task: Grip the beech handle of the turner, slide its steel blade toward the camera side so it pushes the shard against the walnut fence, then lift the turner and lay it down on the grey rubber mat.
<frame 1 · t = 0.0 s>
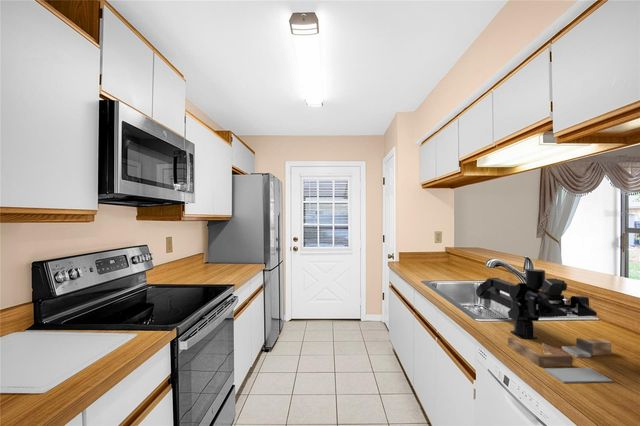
hand: (581, 314, 90), 17 cm above the counter, tool horizontal, fingers open, 9 cm apart
shard: (550, 355, 100), on the counter
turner: (586, 352, 100), on the counter
corner fence: (536, 354, 99), on the counter
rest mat: (576, 375, 86), on the counter
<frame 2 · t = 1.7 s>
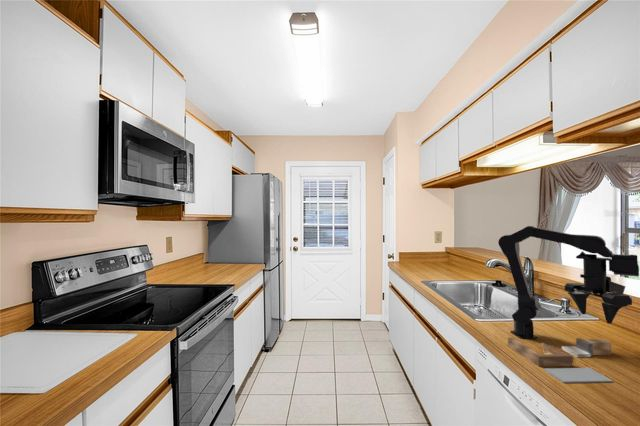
hand: (595, 318, 100), 11 cm above the counter, tool pointing down, fingers open, 9 cm apart
nothing on the counter moved.
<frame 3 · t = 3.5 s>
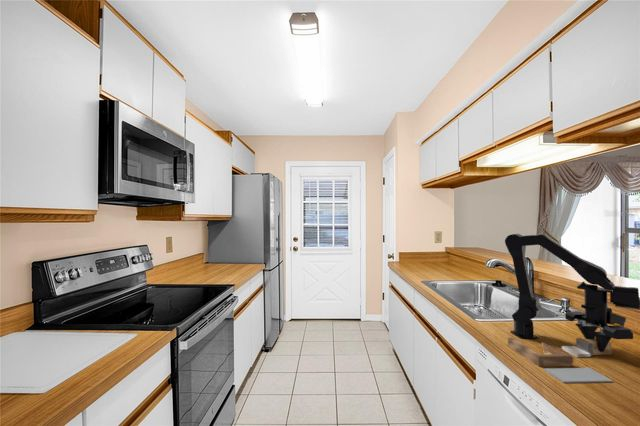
hand: (596, 349, 100), 1 cm above the counter, tool pointing down, fingers closed on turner, 3 cm apart
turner: (586, 352, 100), on the counter, touching gripper
everything else where it was.
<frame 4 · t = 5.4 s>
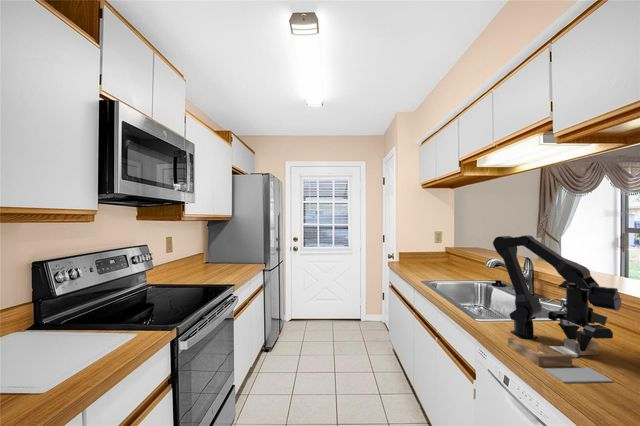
hand: (578, 348, 100), 1 cm above the counter, tool pointing down, fingers closed on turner, 3 cm apart
shard: (543, 355, 100), on the counter
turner: (574, 352, 100), on the counter, touching gripper
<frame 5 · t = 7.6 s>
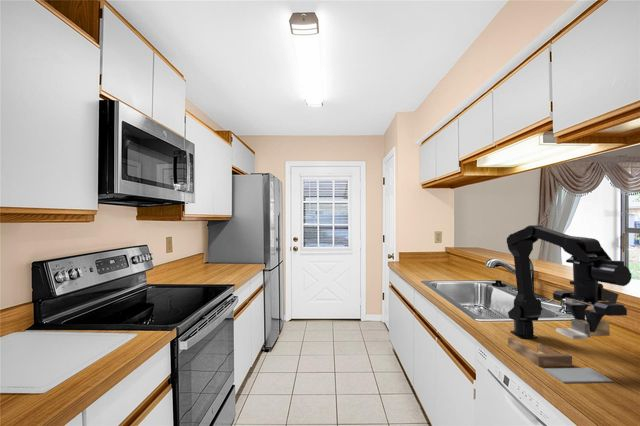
hand: (587, 330, 91), 11 cm above the counter, tool pointing down, fingers closed on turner, 3 cm apart
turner: (582, 334, 90), point 10 cm above the counter, touching gripper
everything else where it was.
when the fingers open (2 cm above the counter, at t = 9.6 s): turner stays where it is, resting on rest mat.
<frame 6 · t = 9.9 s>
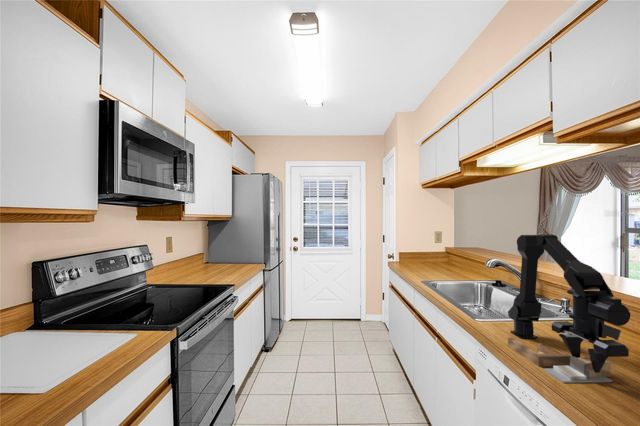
hand: (586, 366, 86), 2 cm above the counter, tool pointing down, fingers open, 6 cm apart
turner: (581, 374, 86), resting on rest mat
everything else where it was.
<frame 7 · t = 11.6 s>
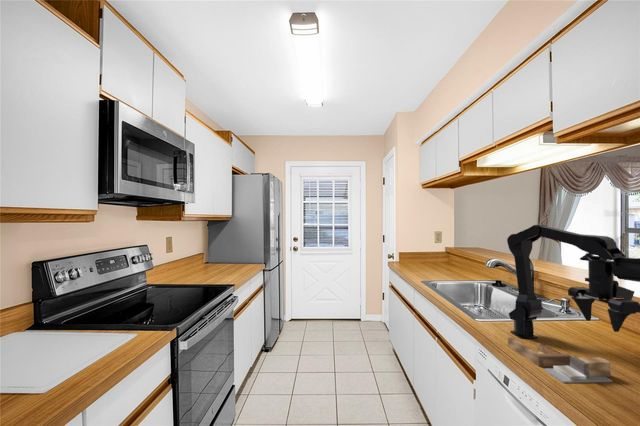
hand: (601, 325, 92), 12 cm above the counter, tool pointing down, fingers open, 9 cm apart
nothing on the counter moved.
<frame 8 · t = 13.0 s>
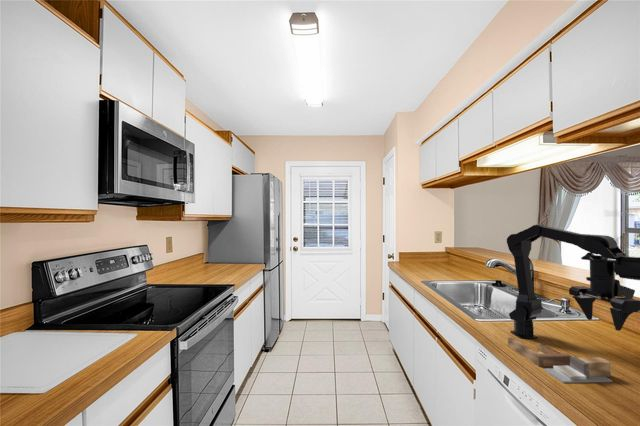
hand: (603, 324, 93), 12 cm above the counter, tool pointing down, fingers open, 9 cm apart
nothing on the counter moved.
at the end: shard inside the target area (3.1 cm from its centre), on the counter; the gripper is holding nothing; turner inside the target area (1.6 cm from its centre), resting on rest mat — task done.
